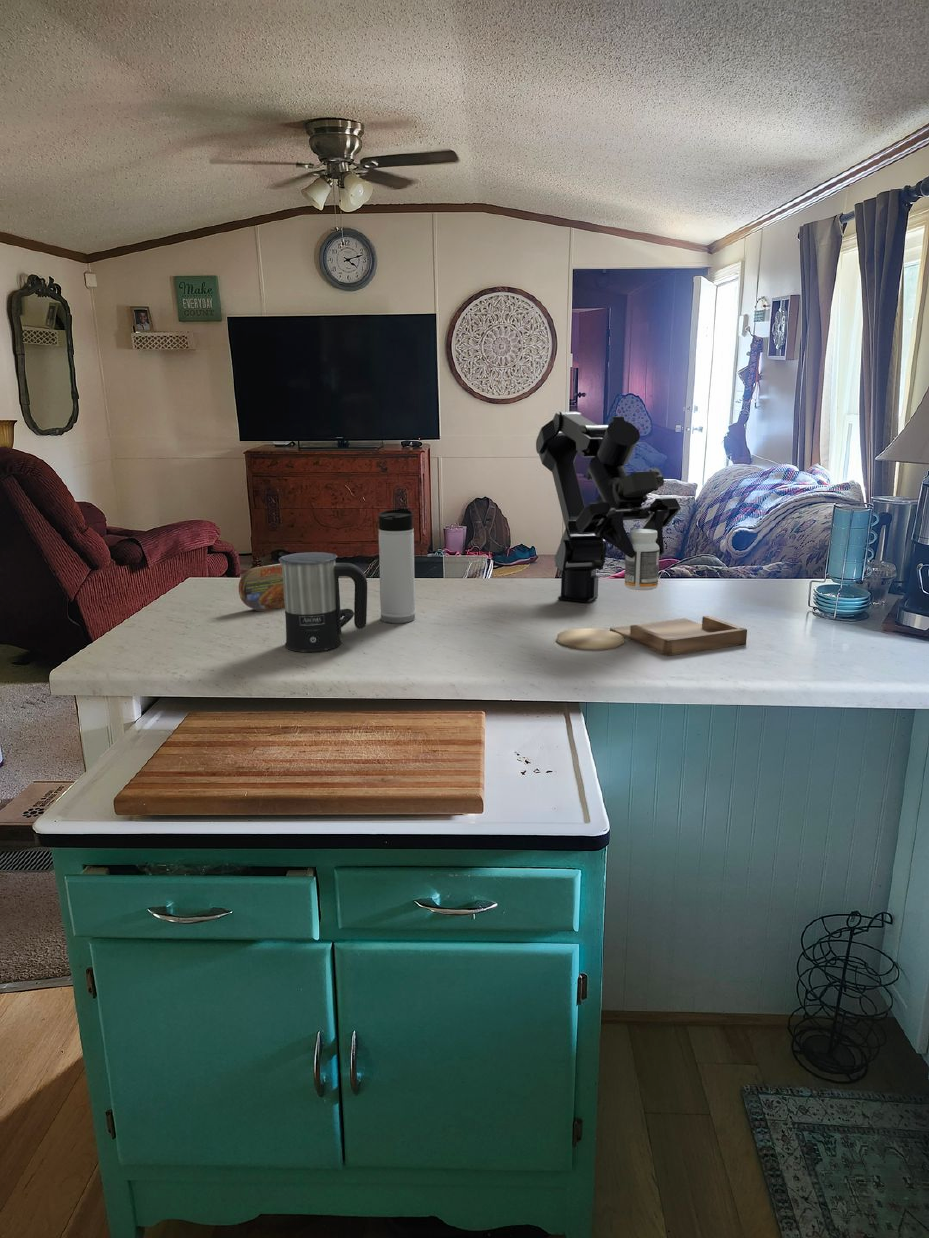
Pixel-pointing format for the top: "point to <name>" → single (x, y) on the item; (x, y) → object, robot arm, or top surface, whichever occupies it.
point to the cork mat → (590, 639)
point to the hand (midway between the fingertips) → (647, 555)
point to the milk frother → (319, 600)
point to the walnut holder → (684, 635)
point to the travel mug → (396, 565)
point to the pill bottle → (642, 560)
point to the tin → (263, 588)
